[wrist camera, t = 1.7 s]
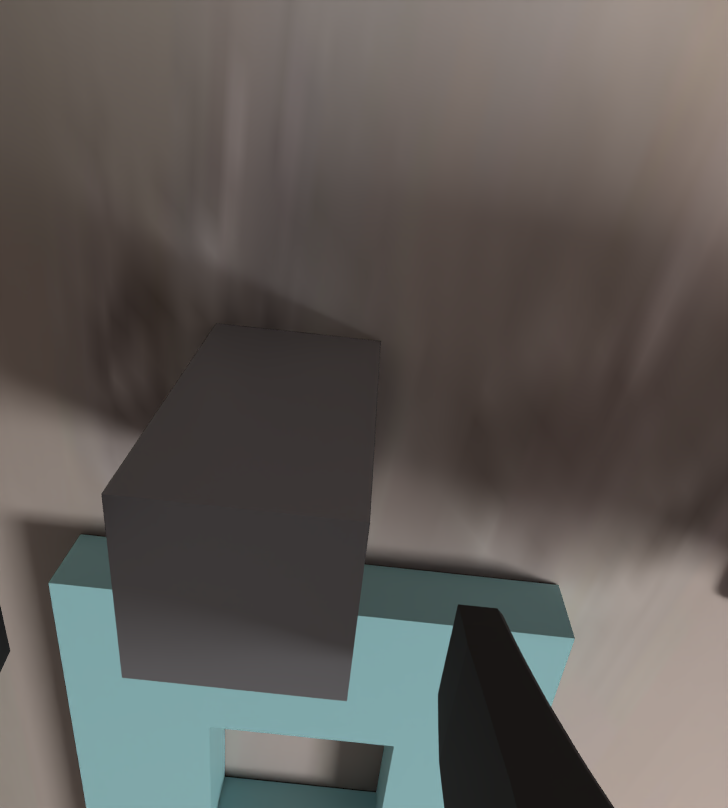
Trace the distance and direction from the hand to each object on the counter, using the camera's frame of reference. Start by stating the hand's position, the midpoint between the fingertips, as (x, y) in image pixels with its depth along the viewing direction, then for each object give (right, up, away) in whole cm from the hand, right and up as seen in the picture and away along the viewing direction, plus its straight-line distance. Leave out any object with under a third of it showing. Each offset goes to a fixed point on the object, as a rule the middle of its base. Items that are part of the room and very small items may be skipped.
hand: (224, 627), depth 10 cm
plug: (0, +3, +7) cm, 8 cm away
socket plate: (0, -8, +13) cm, 15 cm away
